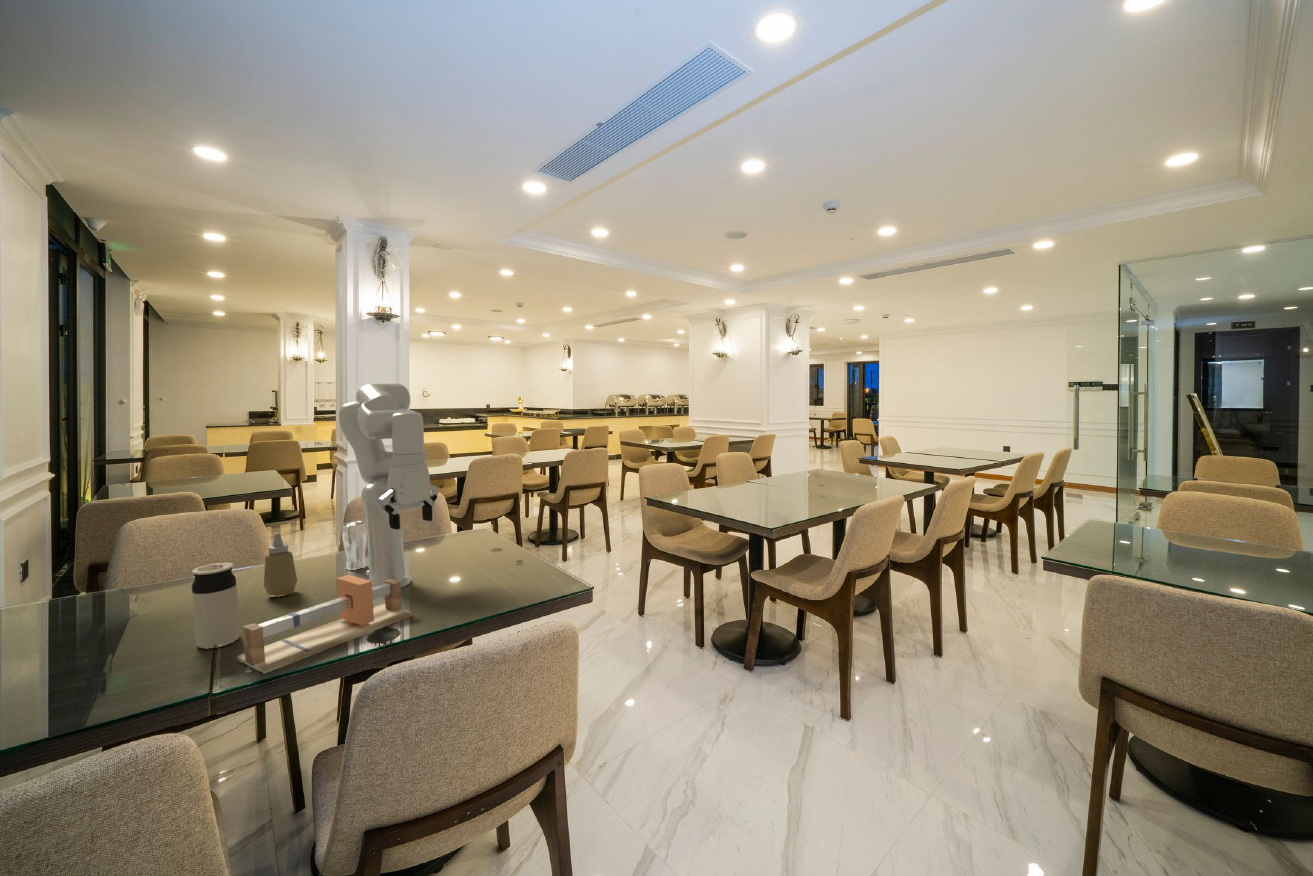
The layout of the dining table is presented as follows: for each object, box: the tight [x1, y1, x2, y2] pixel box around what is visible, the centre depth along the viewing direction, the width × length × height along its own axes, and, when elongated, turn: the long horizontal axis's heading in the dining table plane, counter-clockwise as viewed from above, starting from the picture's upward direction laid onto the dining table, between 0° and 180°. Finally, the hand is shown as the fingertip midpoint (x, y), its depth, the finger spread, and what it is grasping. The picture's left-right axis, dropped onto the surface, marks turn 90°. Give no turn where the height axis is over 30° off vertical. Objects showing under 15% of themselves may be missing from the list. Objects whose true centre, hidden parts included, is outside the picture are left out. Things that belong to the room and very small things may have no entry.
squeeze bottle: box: [263, 532, 298, 596], centre depth 158 cm, size 8×8×18 cm
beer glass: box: [341, 520, 368, 571], centre depth 182 cm, size 7×7×15 cm
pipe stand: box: [236, 579, 412, 671], centre depth 130 cm, size 12×34×8 cm, turn 149°
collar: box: [335, 574, 374, 625], centre depth 135 cm, size 10×3×10 cm, turn 59°
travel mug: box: [191, 562, 241, 646], centre depth 127 cm, size 8×8×18 cm
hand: (411, 524), depth 144 cm, fingers open, 9 cm apart
